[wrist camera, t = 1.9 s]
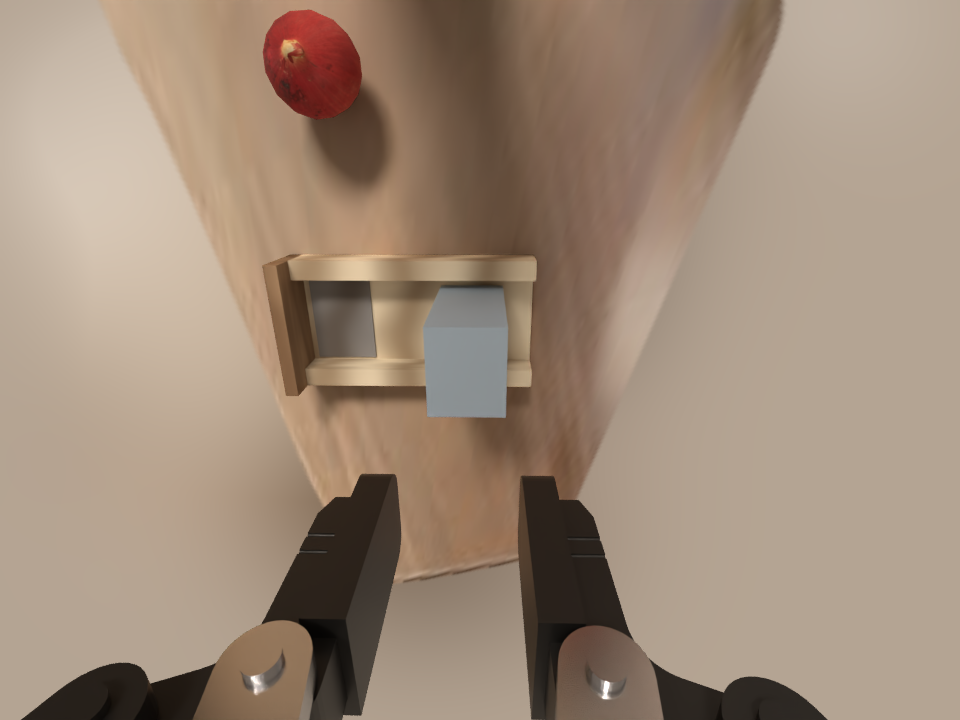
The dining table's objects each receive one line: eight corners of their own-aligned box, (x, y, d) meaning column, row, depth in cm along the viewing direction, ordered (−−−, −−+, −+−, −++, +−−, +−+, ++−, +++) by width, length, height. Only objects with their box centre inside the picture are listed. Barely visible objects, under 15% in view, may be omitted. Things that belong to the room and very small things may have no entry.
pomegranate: (341, 142, 34) (300, 132, 26) (276, 83, 32) (213, 55, 25) (389, 75, 32) (359, 44, 25) (322, 9, 31) (269, -44, 23)
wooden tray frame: (533, 255, 37) (539, 266, 32) (528, 372, 41) (533, 397, 36) (290, 254, 37) (262, 265, 32) (309, 371, 41) (286, 395, 36)
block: (502, 285, 36) (508, 327, 26) (501, 354, 39) (505, 417, 28) (441, 285, 36) (422, 327, 26) (443, 353, 39) (427, 416, 29)
